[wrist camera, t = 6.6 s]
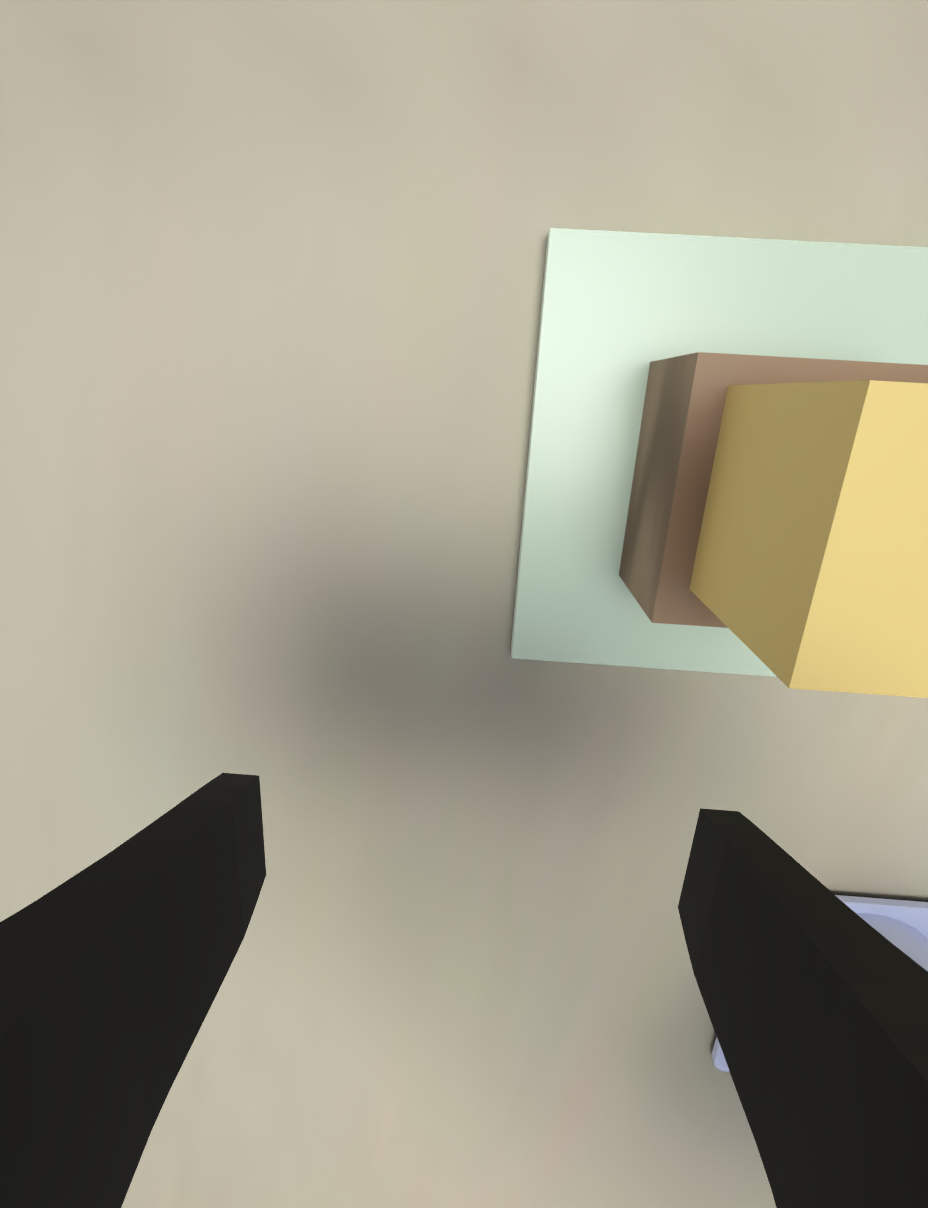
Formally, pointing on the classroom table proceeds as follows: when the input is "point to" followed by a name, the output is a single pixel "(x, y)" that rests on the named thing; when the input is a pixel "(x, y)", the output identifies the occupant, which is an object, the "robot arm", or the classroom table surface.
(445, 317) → the classroom table surface
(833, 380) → the base block
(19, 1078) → the robot arm
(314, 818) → the classroom table surface
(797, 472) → the brick
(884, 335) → the build plate
